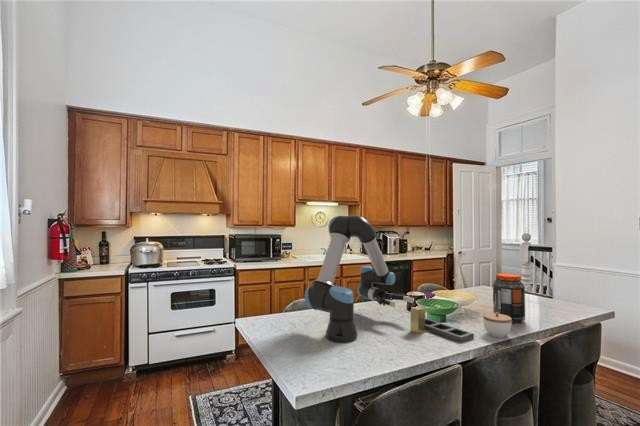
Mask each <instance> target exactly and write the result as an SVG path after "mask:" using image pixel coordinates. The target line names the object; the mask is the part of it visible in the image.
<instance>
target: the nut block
mask: <svg viewBox="0 0 640 426" xmlns="http://www.w3.org/2000/svg"><path fill="white" fill-rule="evenodd" d="M425 319H426V308H425V307H419V306H416V307H411V309H410V332H413V333H414V334H418V335H420V334H423V333H425V332H426V330H425Z"/></svg>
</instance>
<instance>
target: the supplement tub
mask: <svg viewBox="0 0 640 426" xmlns="http://www.w3.org/2000/svg"><path fill="white" fill-rule="evenodd" d="M495 278H496V279H495V280H494V281H493V284H492V299H493V300H492V301H493V302H492V304H493V309H492V310H493V311H492V313H496V312H498V314H503V315H507V316H509V317H511V318H512V324H523V323H524V322H525V321H526V300H525V299H526V293H525V290H526V289H525V285H524V283H523V282H522V276H521V275H519V274H515V273H509V272H508V273H506V272H505V273H504V272H502V273H496V274H495Z"/></svg>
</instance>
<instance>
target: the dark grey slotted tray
mask: <svg viewBox="0 0 640 426" xmlns="http://www.w3.org/2000/svg"><path fill="white" fill-rule="evenodd" d="M425 331H426V332H430V333H433V334H436V335H439V336H440V337H443V338H446V339H449V340H452V341H455V342H458V343H460V344H461V343H465V342H468V341H471V340H474V339H475V334H474V333H473V332H470V331H468V330H465V329H464V330H463V329H461V328H457V327H454V326H451V325H448V324H445V323H442V322H440V321H439V322H438V321H436V320H433V319H429V318H427V317H425Z"/></svg>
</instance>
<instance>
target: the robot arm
mask: <svg viewBox="0 0 640 426" xmlns="http://www.w3.org/2000/svg"><path fill="white" fill-rule="evenodd" d="M327 227H328V233H329V237H330V241H329V245H328V248H327V250H326V254H325V257H324V259H323V261H322V262H323V263H322V265H321V268H320V271H319V273H318V276H317V278H316V279H314V280H313V283H312V284H311V285H309V286H307V288H306V289H305V291H304V301H305V304H306V305H307V307H308V308H310V309H312V310H314V311H320V312H326V313H329V322H328V324H327V329H326V330H325V338H326V339H327V340H329V341H332V342H335V343H350V342H351V343H352V342H354V341H356V340H357V339H358V332H357V329H356V325H355V322H354V316H355V315H354V312H355V311H354V310H355V309H354V308H355V307H354V304H355V302H354V301H355V299H354V292H353V290H352V289H350V288H348V287H345V286H339V285H337V286H336V285H334V282H335V279H336V276H337V273H338V270H339V267H340V263H341V261H342V257H343V254H344V250H345V247H346V244H347V243H350V240H351V239H352V238H357V239H358V240H359V242H360V243H361V244H363V247H364V249H365V251H366V254H367V255H368V258H369V260H370V263H371V265H372V266H370V265H362V266H361V267H360V275H359V276H360V284H359V285H357V288H356V292H357V294H358V295H359V296H360V297H362V298H365V299H369V300H371V301H373V302H377V303H378V304H379V305H380V306H381V305H383V306H386V305H387V306H389V307H392V308H396V301H403V302H406V303H408V304H409V303H413V299H414V297H409V296H407V294H405V293H404V294H401V293H400V294H399V293H392V292H390V293H388V292H386V291H385V290H384V289H382V288H378V287H375V286H374V285H373V284H380V285H388V286H393V285H394V284H395V282H396V275H395V273H394V272H392V271H389V269H388V266H387V264H386V261H385V258H384V256H383V254H382V251H381V249H380V246H379V243H378V241H377V239H376V238H377V233H376V231H375V228H374V227H373V226H372V225H371V224H370V222H369V221H368V220H367V219H366V218H365V217H362V216H360V215H337V216H333V217H332V218H331V219H330V221H329V223H328V226H327ZM394 300H395V301H394Z"/></svg>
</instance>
